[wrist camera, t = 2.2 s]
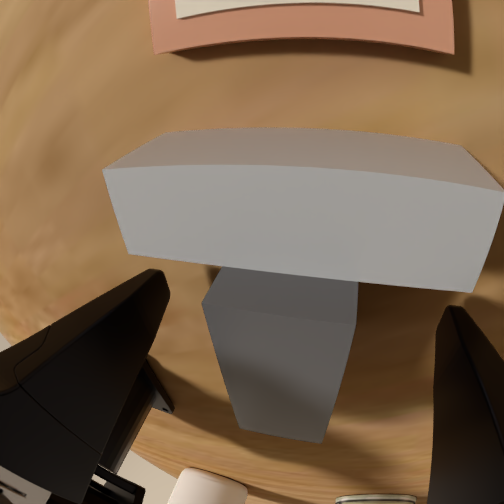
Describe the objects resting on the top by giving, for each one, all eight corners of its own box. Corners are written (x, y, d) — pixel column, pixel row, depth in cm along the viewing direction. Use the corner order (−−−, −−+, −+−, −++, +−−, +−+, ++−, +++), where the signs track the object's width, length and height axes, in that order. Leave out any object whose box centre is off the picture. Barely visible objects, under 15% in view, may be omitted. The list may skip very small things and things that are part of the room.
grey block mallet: (397, 358, 10) (394, 449, 7) (211, 332, 12) (173, 409, 9) (460, 145, 5) (533, 227, 3) (165, 132, 7) (67, 193, 5)
